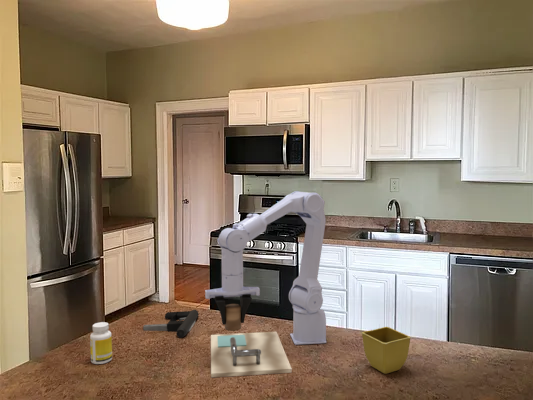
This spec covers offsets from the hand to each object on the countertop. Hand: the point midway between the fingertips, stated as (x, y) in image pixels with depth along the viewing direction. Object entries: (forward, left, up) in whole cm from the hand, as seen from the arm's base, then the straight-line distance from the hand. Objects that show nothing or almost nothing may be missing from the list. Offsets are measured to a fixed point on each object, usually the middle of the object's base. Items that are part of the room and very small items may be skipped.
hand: (232, 322), depth 123 cm
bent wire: (-3, +3, -8) cm, 9 cm away
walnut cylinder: (0, 0, -2) cm, 2 cm away
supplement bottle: (+35, -2, -10) cm, 36 cm away
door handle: (+19, -26, -10) cm, 34 cm away
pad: (0, -8, -9) cm, 12 cm away
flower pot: (-38, +13, -10) cm, 41 cm away
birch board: (-4, -1, -9) cm, 10 cm away
